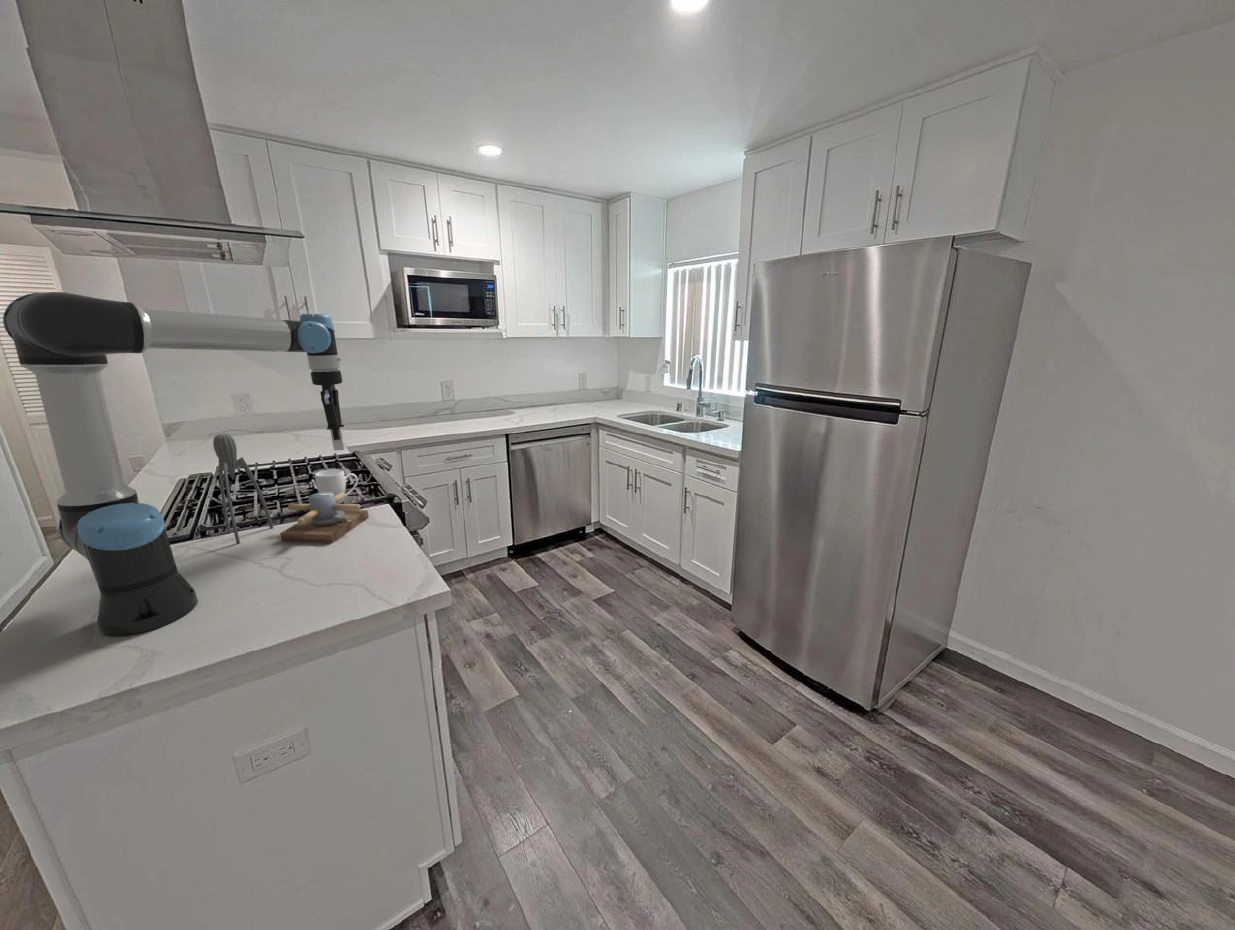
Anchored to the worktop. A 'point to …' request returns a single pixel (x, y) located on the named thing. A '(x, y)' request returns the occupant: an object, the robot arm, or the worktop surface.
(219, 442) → the citrus juicer
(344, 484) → the mug
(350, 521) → the stand
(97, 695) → the worktop surface
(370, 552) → the worktop surface
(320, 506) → the capstan
